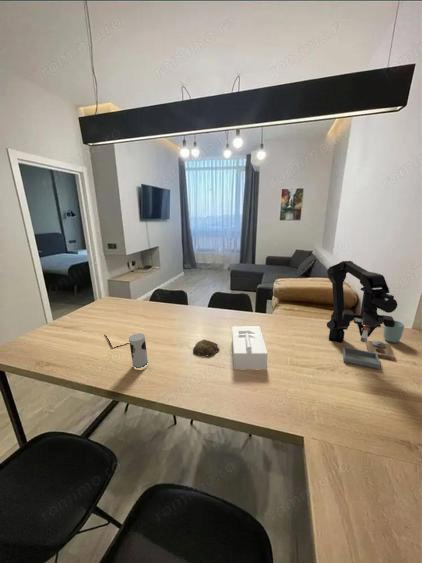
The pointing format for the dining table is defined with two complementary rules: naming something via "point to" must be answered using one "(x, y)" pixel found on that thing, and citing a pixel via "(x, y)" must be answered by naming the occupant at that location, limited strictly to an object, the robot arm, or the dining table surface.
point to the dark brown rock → (206, 348)
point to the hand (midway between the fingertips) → (364, 335)
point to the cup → (393, 332)
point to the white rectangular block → (248, 348)
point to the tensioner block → (380, 349)
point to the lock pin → (364, 333)
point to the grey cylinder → (138, 350)
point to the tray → (361, 358)
